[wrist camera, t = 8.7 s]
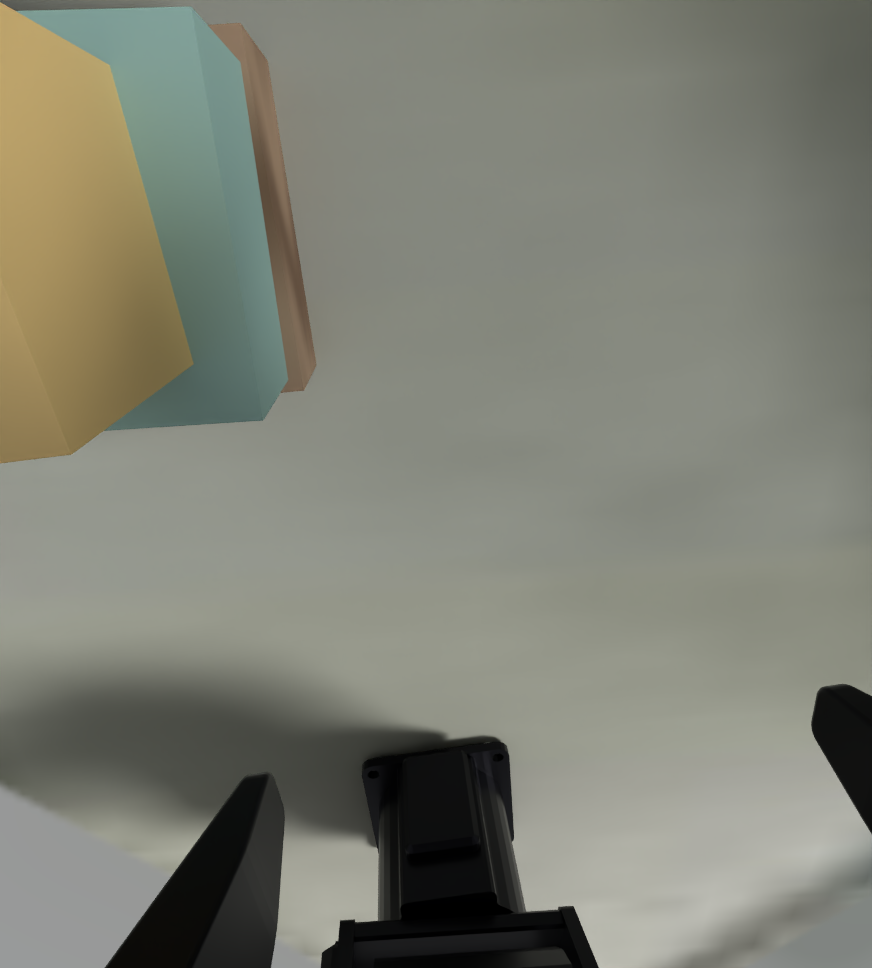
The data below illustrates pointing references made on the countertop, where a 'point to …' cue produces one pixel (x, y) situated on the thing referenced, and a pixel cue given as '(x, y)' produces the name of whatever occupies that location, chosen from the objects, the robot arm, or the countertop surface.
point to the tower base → (274, 206)
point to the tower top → (194, 205)
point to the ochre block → (73, 253)
